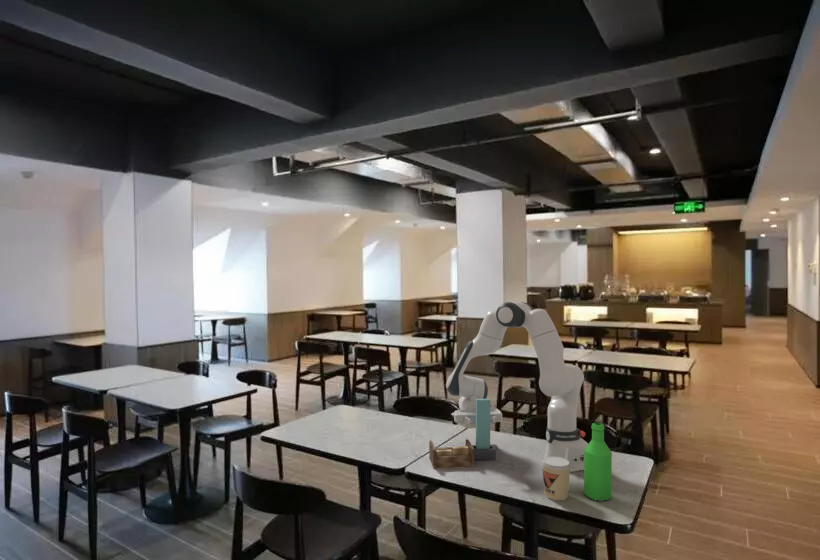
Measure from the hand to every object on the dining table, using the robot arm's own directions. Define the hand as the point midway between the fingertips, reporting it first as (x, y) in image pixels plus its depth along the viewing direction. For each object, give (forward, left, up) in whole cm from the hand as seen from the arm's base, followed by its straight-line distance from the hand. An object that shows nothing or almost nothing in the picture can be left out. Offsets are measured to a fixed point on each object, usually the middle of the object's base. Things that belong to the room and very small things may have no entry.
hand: (482, 421), depth 200 cm
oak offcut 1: (+17, +5, -15) cm, 23 cm away
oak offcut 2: (+10, +5, -15) cm, 19 cm away
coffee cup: (-18, +33, -16) cm, 41 cm away
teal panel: (0, +1, -15) cm, 15 cm away
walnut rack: (+13, +3, -16) cm, 21 cm away
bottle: (-32, +35, -16) cm, 50 cm away
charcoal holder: (0, +1, -16) cm, 16 cm away
